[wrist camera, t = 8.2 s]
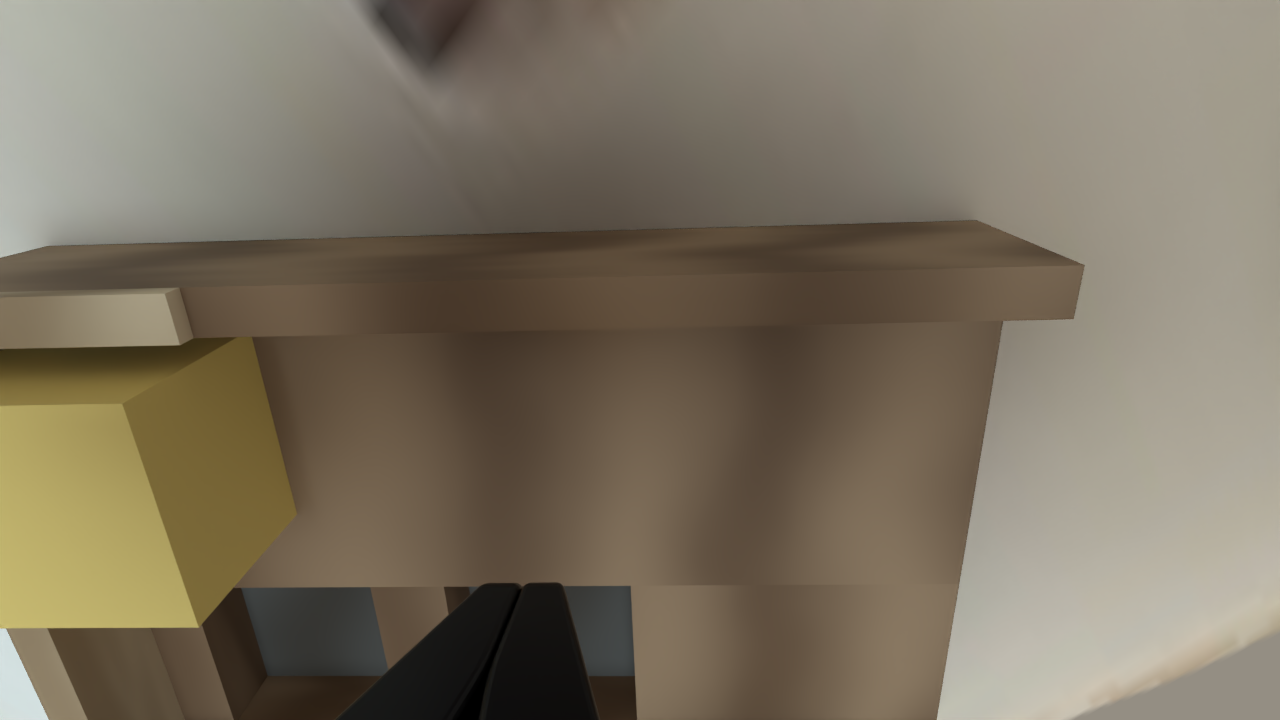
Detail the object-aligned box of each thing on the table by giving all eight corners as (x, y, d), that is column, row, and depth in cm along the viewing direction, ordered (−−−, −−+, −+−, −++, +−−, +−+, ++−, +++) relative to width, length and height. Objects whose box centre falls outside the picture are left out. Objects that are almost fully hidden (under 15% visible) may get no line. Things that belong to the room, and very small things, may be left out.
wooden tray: (976, 220, 16) (1097, 270, 12) (908, 695, 22) (972, 855, 17) (47, 246, 17) (-175, 301, 13) (204, 694, 23) (89, 845, 18)
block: (250, 330, 16) (121, 403, 12) (297, 514, 18) (199, 627, 14) (41, 334, 16) (-148, 409, 12) (109, 516, 18) (-37, 628, 14)
